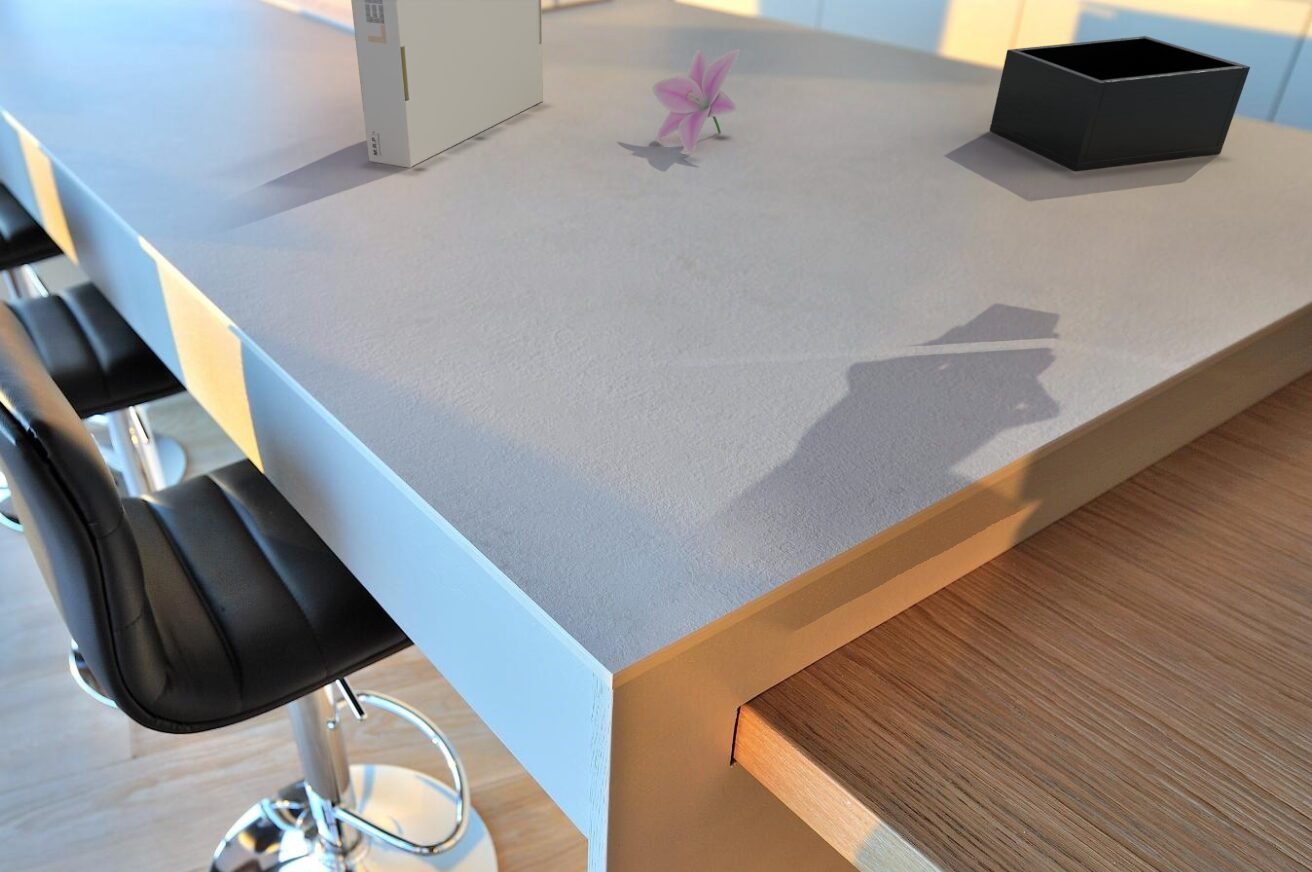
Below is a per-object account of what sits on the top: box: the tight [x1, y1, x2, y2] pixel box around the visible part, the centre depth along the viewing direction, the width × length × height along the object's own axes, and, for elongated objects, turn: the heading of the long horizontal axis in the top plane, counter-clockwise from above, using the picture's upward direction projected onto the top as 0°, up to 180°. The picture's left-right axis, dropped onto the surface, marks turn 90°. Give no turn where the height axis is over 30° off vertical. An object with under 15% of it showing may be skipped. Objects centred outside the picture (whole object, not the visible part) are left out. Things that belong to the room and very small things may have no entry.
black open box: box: [989, 35, 1251, 172], centre depth 118 cm, size 18×16×9 cm
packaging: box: [350, 0, 544, 169], centre depth 128 cm, size 30×6×20 cm, turn 149°
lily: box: [651, 48, 741, 155], centre depth 124 cm, size 12×12×10 cm
